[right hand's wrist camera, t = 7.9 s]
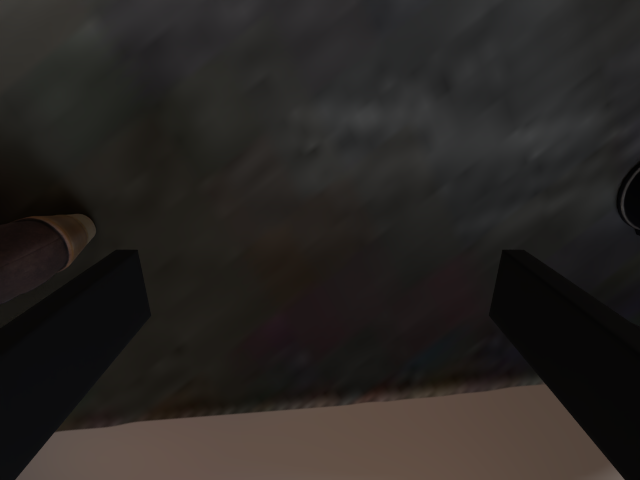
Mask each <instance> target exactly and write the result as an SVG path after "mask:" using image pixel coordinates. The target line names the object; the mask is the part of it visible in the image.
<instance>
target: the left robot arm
mask: <svg viewBox="0 0 640 480" xmlns="http://www.w3.org/2000/svg"><path fill="white" fill-rule="evenodd" d="M617 207H618V212H619V215H620V217H621V218H622V220H623V221H624V222H625V223H626V224H628V225H629V226H631V227H633V228H635V230H636V234H637V235H639V236H640V164H638V165H637V166H636V167H635V168H634V169H633V170H632V171H631V172H630V173H629V175H628V176H627V177H626V179H625V180H624V182H623V184H622V186H621V188H620V191H619V194H618V200H617Z"/></svg>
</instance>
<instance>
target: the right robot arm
mask: <svg viewBox="0 0 640 480" xmlns="http://www.w3.org/2000/svg"><path fill="white" fill-rule="evenodd" d="M150 316H151V313H150V308H149V303H148V298H147V293H146V289H145V284H144V279H143V274H142V269H141V264H140V260H139V255H138V250H115V251H114V252H112V253H111V254H109V255H108V256H106V257H105V258H103V259H102V260H101V261H99V262H98V263H96V264H95V265H93V266H92V267H90V268H89V269H87V270H86V271H84V272H83V273H81V274H80V275H78V276H77V277H75V278H74V279H73V280H71V281H70V282H68V283H67V284H65V285H64V286H62V287H61V288H59V289H58V290H56V291H55V292H53V293H52V294H50V295H49V296H48V297H46V298H45V299H43V300H42V301H40V302H39V303H37V304H36V305H34V306H33V307H31V308H30V309H28V310H27V311H25V312H24V313H23V314H21V315H20V316H18V317H17V318H15V319H14V320H12V321H11V322H9V323H8V324H6V325H5V326H3V327H2V328H0V480H15V479H16V478H17V477H18V476H19V474H20V473H21V472H22V471H23V470H24V468H25V467H26V466H27V465H28V464H29V462H30V461H31V460H32V459H33V458H34V456H35V455H36V454H37V453H38V451H39V450H40V449H41V448H42V447H43V445H44V444H45V443H46V442H47V441H48V439H49V438H50V437H51V436H52V434H53V433H54V432H55V431H56V430H57V429H58V427H59V426H60V425H61V424H62V422H63V421H64V420H65V419H66V418H67V416H68V415H69V414H70V413H71V412H72V410H73V409H74V408H75V407H76V406H77V404H78V403H79V402H80V401H81V400H82V398H83V397H84V396H85V395H86V393H87V392H88V391H89V390H90V389H91V387H92V386H93V385H94V384H95V383H96V381H97V380H98V379H99V378H100V377H101V375H102V374H103V373H104V372H105V371H106V369H107V368H108V367H109V366H110V364H111V363H112V362H113V361H114V360H115V358H116V357H117V356H118V355H119V354H120V352H121V351H122V350H123V349H124V348H125V346H126V345H127V344H128V343H129V342H130V340H131V339H132V338H133V337H134V335H135V334H136V333H137V332H138V331H139V329H140V328H141V327H142V326H143V325H144V323H145V322H146V321H147V320H148V319H149V317H150ZM489 316H490V317H491V319H492V320H493V321H494V322H495V323H496V325H497V326H498V327H499V328H500V329H501V331H502V332H503V333H504V334H505V335H506V337H507V338H508V339H509V340H510V342H511V343H512V344H513V345H514V346H515V348H516V349H517V350H518V351H519V352H520V354H521V355H522V356H523V357H524V358H525V360H526V361H527V362H528V363H529V364H530V366H531V367H532V368H533V369H534V371H535V372H536V373H537V374H538V375H539V377H540V378H541V379H542V380H543V381H544V383H545V384H546V385H547V386H548V387H549V389H550V390H551V391H552V392H553V393H554V395H555V396H556V397H557V398H558V400H559V401H560V402H561V403H562V404H563V406H564V407H565V408H566V409H567V410H568V412H569V413H570V414H571V415H572V416H573V418H574V419H575V420H576V421H577V422H578V424H579V425H580V426H581V427H582V428H583V430H584V431H585V432H586V433H587V435H588V436H589V437H590V438H591V439H592V441H593V442H594V443H595V444H596V445H597V447H598V448H599V449H600V450H601V451H602V453H603V454H604V455H605V456H606V457H607V459H608V460H609V461H610V462H611V464H612V465H613V466H614V467H615V468H616V470H617V471H618V472H619V473H620V474H621V476H622V477H623V478H624V479H625V480H640V326H637V325H635V324H633V323H631V322H629V321H628V320H626V319H625V318H623V317H622V316H620V315H619V314H617V313H616V312H615V311H613V310H612V309H610V308H609V307H607V306H606V305H604V304H603V303H601V302H600V301H598V300H597V299H595V298H594V297H592V296H591V295H590V294H588V293H587V292H585V291H584V290H582V289H581V288H579V287H578V286H576V285H575V284H573V283H572V282H570V281H569V280H567V279H566V278H565V277H563V276H562V275H560V274H559V273H557V272H556V271H554V270H553V269H551V268H550V267H548V266H547V265H545V264H544V263H542V262H541V261H539V260H538V259H537V258H535V257H534V256H532V255H531V254H529V253H528V252H526V251H525V250H502V255H501V260H500V264H499V269H498V274H497V279H496V284H495V289H494V293H493V298H492V303H491V308H490V313H489Z"/></svg>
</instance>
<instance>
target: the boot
mask: <svg viewBox="0 0 640 480" xmlns="http://www.w3.org/2000/svg"><path fill="white" fill-rule="evenodd" d="M95 233H96V228H95V225H94V223H93V222H92V220H91V219H90V218H88V217H87V216H85V215H83V214H70V215H54V216H31V217H26V218H22V219H19V220H16V221H13V222H10V223H7V224H2V225H0V304H3V303H5V302H7V301H9V300H11V299H13V298H14V297H16V296H18V295H20V294H23V293H26V292H28V291H30V290H32V289H34V288H36V287H38V286H39V285H41V284H43V283H44V282H46V281H47V280H48V279H50V278H51V277H52V276H53V275H54V274H55V273H57V272H60V271H62V270H64V269H65V268H67V267H68V266H69V265H70V264H71V263H72V262H73V261H74V259H75V258H76V257H77V256H78V255H79V253H80V252H81V251H82V250H83V249H84V247H85V246H86V244H88V243H89V242H90V240H91V239H92V238H93V237H94V236H95Z"/></svg>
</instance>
